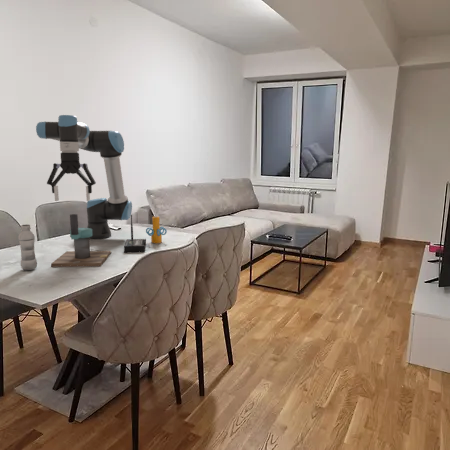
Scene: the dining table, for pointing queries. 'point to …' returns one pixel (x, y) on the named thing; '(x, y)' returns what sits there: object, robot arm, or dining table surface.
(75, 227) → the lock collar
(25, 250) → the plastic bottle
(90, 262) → the base
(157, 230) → the cylinder
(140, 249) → the wireless controller
